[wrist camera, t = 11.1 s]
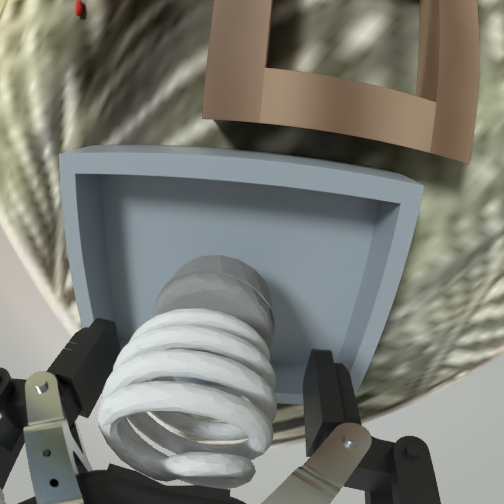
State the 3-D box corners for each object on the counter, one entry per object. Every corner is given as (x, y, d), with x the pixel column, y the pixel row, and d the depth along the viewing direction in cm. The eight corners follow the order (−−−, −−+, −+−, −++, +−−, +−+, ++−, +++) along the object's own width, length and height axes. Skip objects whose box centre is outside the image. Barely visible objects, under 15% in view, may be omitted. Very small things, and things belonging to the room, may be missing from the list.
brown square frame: (451, -32, 10) (470, -45, 7) (446, 157, 15) (469, 164, 12) (237, -78, 10) (232, -100, 8) (212, 119, 15) (202, 118, 13)
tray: (397, 172, 15) (424, 185, 12) (343, 369, 21) (350, 405, 18) (94, 145, 16) (59, 153, 13) (113, 340, 22) (94, 371, 18)
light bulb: (292, 247, 17) (310, 459, 6) (260, 328, 19) (242, 520, 8) (189, 215, 16) (61, 387, 5) (170, 301, 19) (87, 475, 8)
